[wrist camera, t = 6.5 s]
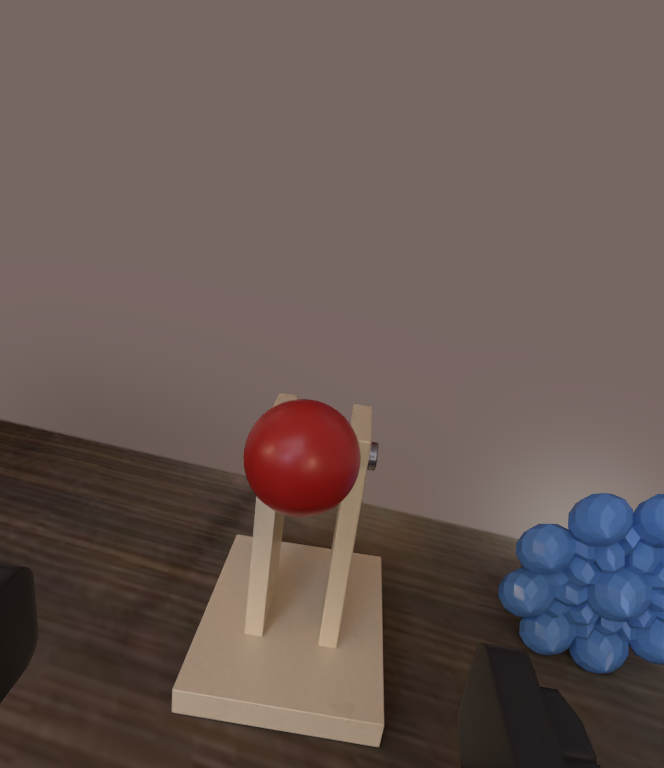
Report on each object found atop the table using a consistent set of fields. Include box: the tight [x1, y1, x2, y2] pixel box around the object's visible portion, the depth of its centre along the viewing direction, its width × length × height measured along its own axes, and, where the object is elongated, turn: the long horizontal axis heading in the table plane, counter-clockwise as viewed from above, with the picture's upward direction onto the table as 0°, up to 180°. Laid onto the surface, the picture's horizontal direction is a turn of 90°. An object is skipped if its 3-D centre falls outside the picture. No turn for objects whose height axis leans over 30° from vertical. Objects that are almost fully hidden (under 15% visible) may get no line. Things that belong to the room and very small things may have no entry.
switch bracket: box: [172, 393, 384, 747], centre depth 28 cm, size 12×10×14 cm
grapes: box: [498, 493, 664, 674], centre depth 29 cm, size 12×7×12 cm, turn 76°
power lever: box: [244, 399, 361, 517], centre depth 21 cm, size 13×4×4 cm, turn 176°
